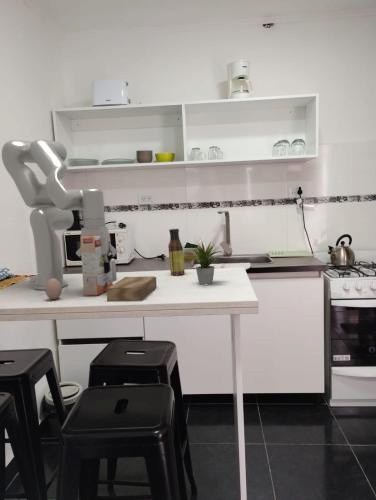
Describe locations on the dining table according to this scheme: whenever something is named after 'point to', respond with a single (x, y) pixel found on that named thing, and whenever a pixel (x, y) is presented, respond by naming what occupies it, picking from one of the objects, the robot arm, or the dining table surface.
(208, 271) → the house plant
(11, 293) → the dining table surface
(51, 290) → the egg
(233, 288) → the dining table surface
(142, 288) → the riser
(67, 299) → the dining table surface
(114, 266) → the grey mug
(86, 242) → the cracker box
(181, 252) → the sauce bottle
